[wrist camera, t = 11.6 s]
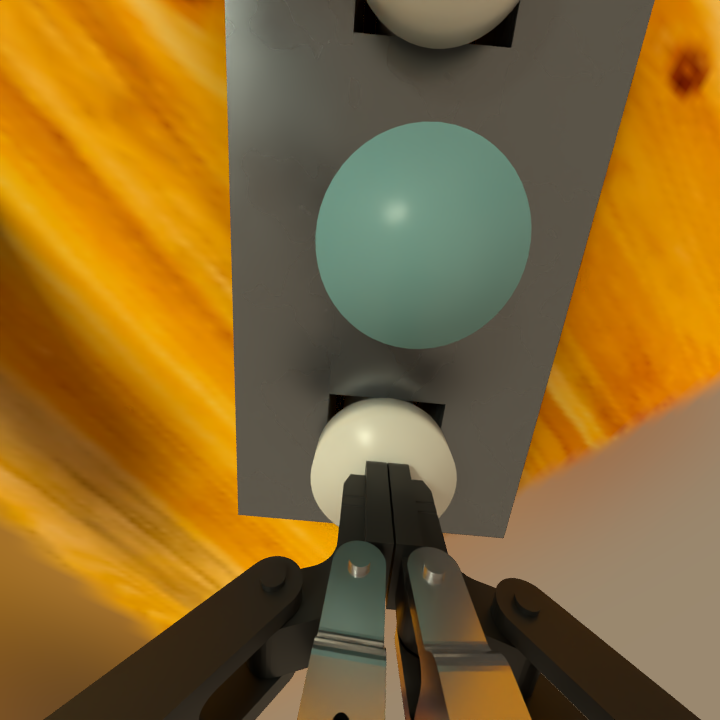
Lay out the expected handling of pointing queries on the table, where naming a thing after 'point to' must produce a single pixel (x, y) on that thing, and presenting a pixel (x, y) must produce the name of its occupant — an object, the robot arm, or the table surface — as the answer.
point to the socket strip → (307, 190)
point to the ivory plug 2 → (380, 450)
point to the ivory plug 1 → (439, 20)
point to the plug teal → (423, 235)
